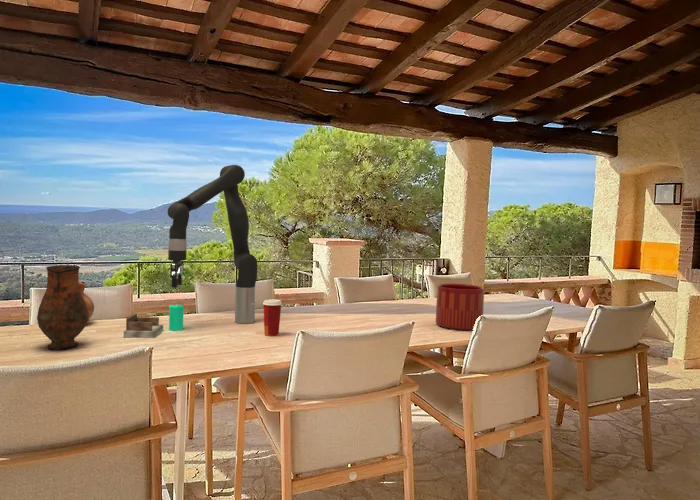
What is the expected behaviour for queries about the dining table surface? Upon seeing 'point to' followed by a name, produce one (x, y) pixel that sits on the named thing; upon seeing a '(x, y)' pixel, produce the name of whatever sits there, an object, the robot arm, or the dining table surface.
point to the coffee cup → (272, 317)
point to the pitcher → (62, 308)
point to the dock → (142, 327)
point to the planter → (459, 305)
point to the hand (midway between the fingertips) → (176, 286)
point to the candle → (175, 317)
